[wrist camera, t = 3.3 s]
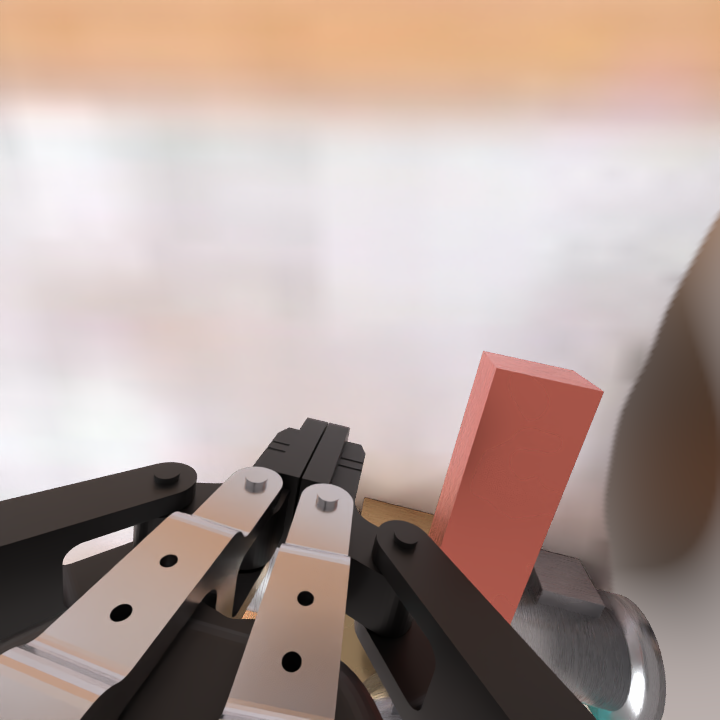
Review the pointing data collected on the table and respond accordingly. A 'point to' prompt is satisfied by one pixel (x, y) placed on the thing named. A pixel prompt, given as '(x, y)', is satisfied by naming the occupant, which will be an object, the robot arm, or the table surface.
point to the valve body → (557, 632)
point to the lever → (507, 478)
